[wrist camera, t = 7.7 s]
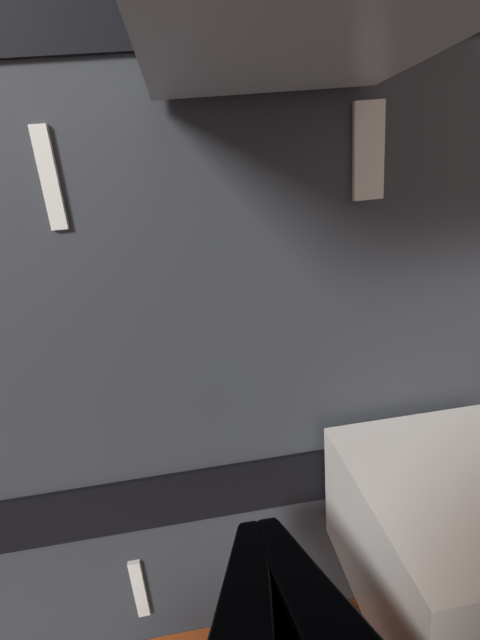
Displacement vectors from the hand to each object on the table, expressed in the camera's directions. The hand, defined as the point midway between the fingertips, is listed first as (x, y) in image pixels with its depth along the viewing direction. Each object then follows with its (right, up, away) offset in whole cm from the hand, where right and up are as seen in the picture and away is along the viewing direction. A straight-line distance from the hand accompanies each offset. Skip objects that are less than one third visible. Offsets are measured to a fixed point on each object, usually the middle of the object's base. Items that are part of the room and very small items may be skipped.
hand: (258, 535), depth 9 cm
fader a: (+4, +1, +2) cm, 4 cm away
